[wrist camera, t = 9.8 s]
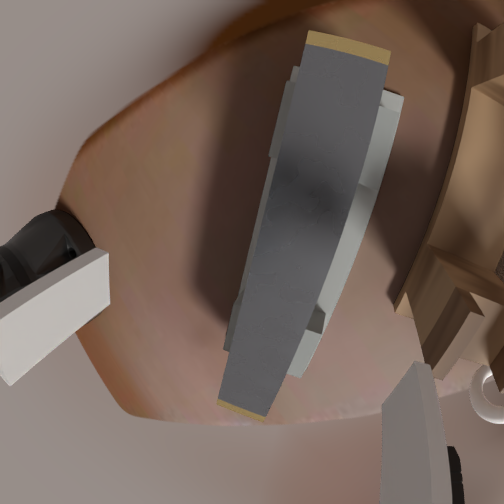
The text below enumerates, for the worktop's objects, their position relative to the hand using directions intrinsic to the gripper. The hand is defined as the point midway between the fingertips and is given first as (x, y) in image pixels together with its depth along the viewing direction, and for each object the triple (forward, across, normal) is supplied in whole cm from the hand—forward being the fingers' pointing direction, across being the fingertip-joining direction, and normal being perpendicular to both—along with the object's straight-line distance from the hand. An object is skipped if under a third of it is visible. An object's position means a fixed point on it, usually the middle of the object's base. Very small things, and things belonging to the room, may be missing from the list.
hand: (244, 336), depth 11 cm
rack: (+13, +13, +9) cm, 20 cm away
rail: (+10, +1, 0) cm, 10 cm away
